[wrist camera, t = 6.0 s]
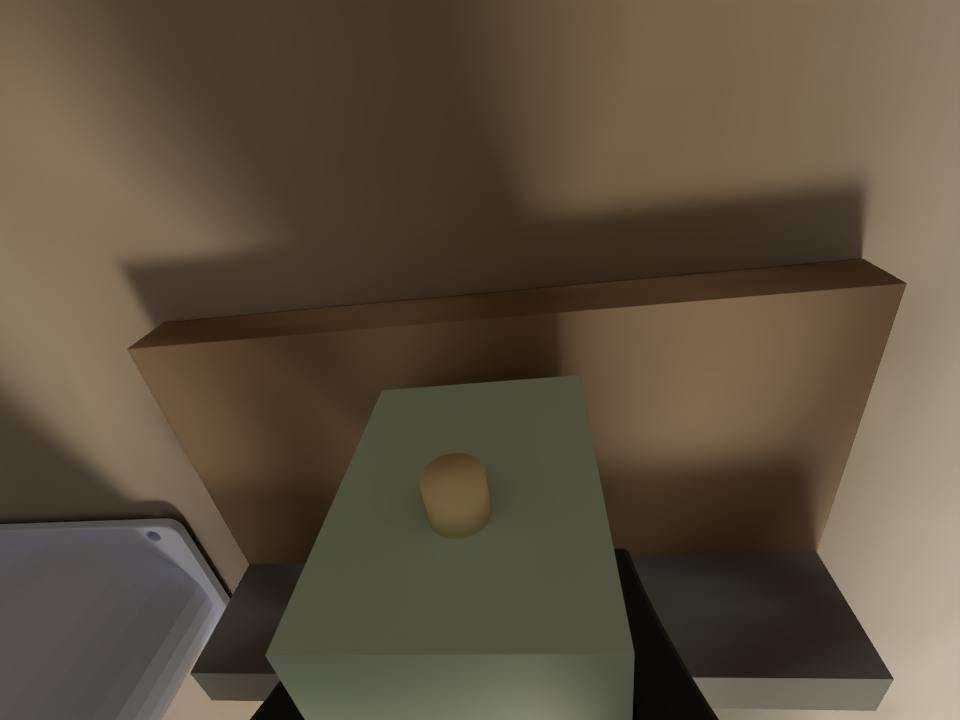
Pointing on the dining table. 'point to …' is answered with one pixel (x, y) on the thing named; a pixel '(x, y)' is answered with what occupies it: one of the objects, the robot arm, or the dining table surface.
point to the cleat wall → (616, 439)
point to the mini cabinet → (464, 567)
